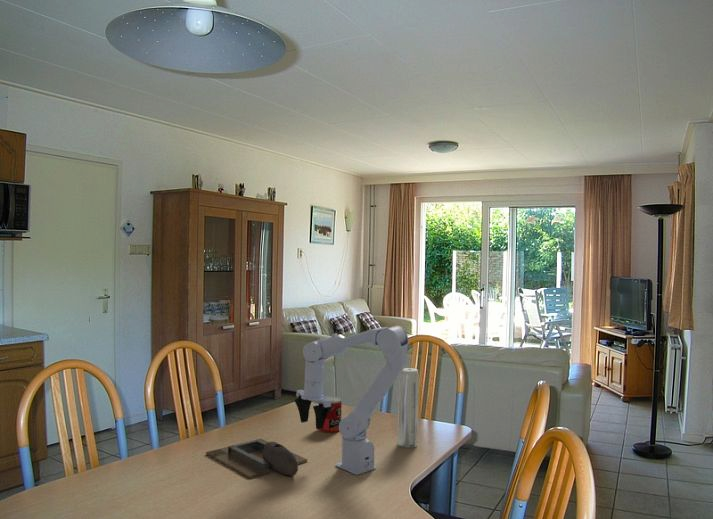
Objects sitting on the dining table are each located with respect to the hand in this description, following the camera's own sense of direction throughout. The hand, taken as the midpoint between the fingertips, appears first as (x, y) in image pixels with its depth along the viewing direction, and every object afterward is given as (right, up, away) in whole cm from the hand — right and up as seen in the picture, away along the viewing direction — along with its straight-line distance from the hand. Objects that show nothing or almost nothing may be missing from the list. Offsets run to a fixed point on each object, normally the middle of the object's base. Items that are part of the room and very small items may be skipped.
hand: (311, 425), depth 170 cm
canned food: (+4, -11, +30) cm, 32 cm away
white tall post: (+31, -11, +15) cm, 36 cm away
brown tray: (-17, -10, 0) cm, 20 cm away
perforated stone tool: (-8, -11, -10) cm, 16 cm away
